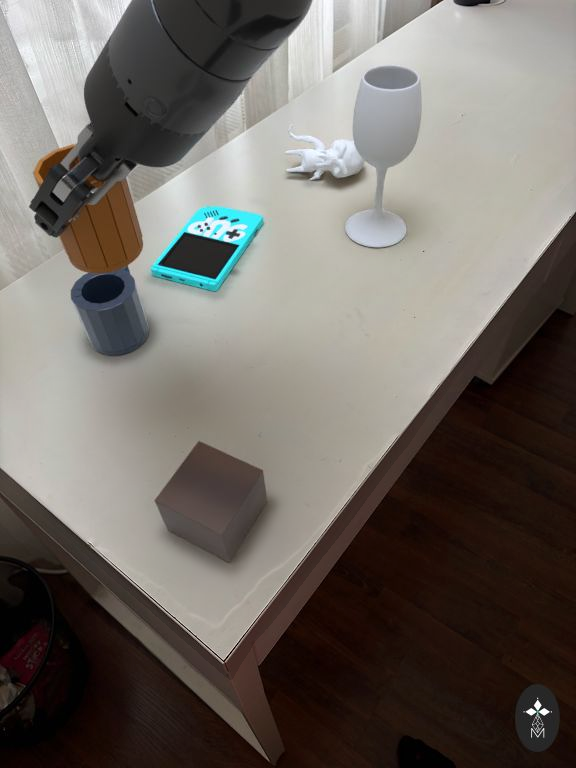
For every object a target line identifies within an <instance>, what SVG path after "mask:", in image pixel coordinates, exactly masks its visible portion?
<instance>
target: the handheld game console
mask: <svg viewBox="0 0 576 768" xmlns="http://www.w3.org/2000/svg"><path fill="white" fill-rule="evenodd" d="M263 224H264V216H263V215H262V214H258V213H253V212H248V211H244V210H239V209H235V208H230V207H226V206H219V205H218V206H217V205H214V206H213V205H211V206H203V207H201V208H199V209H197V210H196V211H195V213H194V214H193V215H192V216H191V217H190V218H189V220H188V221H187V222H186V223H185V225H184V226H183V227H182V229H181V230H180V231H179V232H178V234H177V235H176V236H175V237H174V238H173V239H172V241H171V242H170V243H169V244H168V246H167V247H166V248H165V250H164V251H163V252H162V253H161V254H160V255H159V256H158V258H157V259H156V260H155V262H153V264H152V265H151V266H150V272H151V274H152V276H153V277H156V278H160V279H164V280H168V281H172V282H176V283H179V284H184V285H188V286H191V287H195V288H199V289H203V290H207V291H211V292H217V291H218V290H219V289H220V287H221V286H222V285H223V284H224V282H225V280H226V278H227V277H228V276H229V274H230V273H231V272H232V270H233V268H234V267H235V265H236V264H237V262H238V261H239V260H240V258H241V257H242V255H243V254H244V252H245V250H247V248H248V247H249V245H250V243H252V241H253V239H254V237H255V236H256V235H257V234H258V231H259V230H260V229H261V227H262V226H263Z"/></svg>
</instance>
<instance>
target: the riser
mask: <svg viewBox="0 0 576 768" xmlns="http://www.w3.org/2000/svg"><path fill="white" fill-rule="evenodd" d="M154 503H155V505H156V507H157V510H158V512H159V514H160V516H161V519H162V521H163V523H164V525H165V528H166V530H167V531H168V532H170V533H172V534H174V535H176V536H177V537H179V538H182V539H183V540H186V541H187V542H189V543H190V544H193V545H195V546H197V547H198V548H201V549H202V550H204V551H206V552H208V553H210V554H212V555H214V556H215V557H217V558H219V559H221V560H223V561H225V562H227V563H229V564H230V563H231V562H232V560H233V559H234V557H235V555H236V554H237V552H238V551H239V549H240V547H241V546H242V544H243V542H244V541H245V539H246V537H247V535H248V534H249V532H250V531H251V529H252V528H253V526H254V524H255V523H256V521H257V519H258V518H259V516H260V514H261V513H262V511H263V510H264V508H265V506H266V505H267V503H268V496H267V488H266V479H265V473H264V470H263V469H261V468H260V467H257V466H255V465H252V464H250V463H248V462H247V461H244V460H242V459H239V458H237V457H235V456H233V455H230V454H229V453H226V452H225V451H223V450H220V449H217V448H216V447H213V446H211V445H209V444H207V443H204V442H202V441H200V440H198V441H197V443H196V444H195V445H194V446H193V448H192V449H191V451H190V452H189V453H188V454H187V456H186V457H185V459H183V462H182V463H181V464H180V466H179V467H178V468H177V470H175V472H174V474H173V475H172V476H171V477H170V479H169V480H168V481H167V482H166V484H165V486H164V487H163V488H162V489H161V491H160V492H159V494H158V495H157V496H156V498H155V499H154Z"/></svg>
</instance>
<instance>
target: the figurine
mask: <svg viewBox="0 0 576 768" xmlns="http://www.w3.org/2000/svg"><path fill="white" fill-rule="evenodd" d="M293 126H294V123H292V124H289V126H288V129H287V132H288V136H289V137H290V138H291V139H293V140H295V141H297V142H304V143H308V144H310V145H312V146H313V147H314V148H297V149H291V150H286V151H284V154H285V155H289V156H290V155H293V156H299V157H301V158H300V162H301V165H299V166H296V167H291V168H286V170H285V172H286V173H312V172H314V171H315V172H314V174H313V176H312V177H310V178H309V181H315V180H319V179H321V177H322V174H324V173H325V171H330V172H331V174H332V176H334V178H337V179H339V178H346V177H350V176H353V175H355V176H356V175H357V174H358V173H359V172H360V171H361V170H362V168H363V167H364V164H365V163H366V161H365V160H364V159H363V158H362V157H361V156H360V155H359V153H358V151H357V150H356V147H355V145H354V140H353V139H352V140H350V139H342V138H341V139H336V140H334V141H333V142H332V143H331V144H330V147H329V149H326V147H325V144H324V142H322V141H321V140H320V139H318V138H316V137H314V136H313V135H307V134H306V135H295V134H294V133H293V130H292V128H293Z"/></svg>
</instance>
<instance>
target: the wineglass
mask: <svg viewBox="0 0 576 768" xmlns="http://www.w3.org/2000/svg"><path fill="white" fill-rule="evenodd" d="M421 85H422V83H421V77H420V75H419V73H418V72H417V71H415V70H414V69H412V68H410V67H408V66H404V65H398V64H383V65H376V66H373V67H371V68H368V69H367V70H365V72H363V74H362V77H361V79H360V82H359V86H358V90H357V93H356V98H355V102H354V108H353V116H352V140H354V145H355V147H356V150H357V151H358V153H359V155H360V156H361V157H362V158H363V159H364V160H365V163H367V164H368V165H370V166H372V167H374V168H375V170H376V187H375V196H374V202H373V203H374V204H373V208H372V209H371V208H370V209H365V210H361V211H359V212H356V213H354V214H353V215H351V216H350V217H349V218H348V219H347V221H346V223H345V225H344V230H345V233H346V234H347V236H348V237H349V239H350V240H352V241H353V242H355V243H356V244H358V245H360V246H363V247H369V248H385V247H390V246H393V245H396V244H398V243H400V241H402V240H403V239H404V237H405V236H406V235H407V231H408V227H407V224H406V222H405V220H404V219H403V218H402V217H401V216H399V215H398V214H395V212H391V211H389V210H385V209H383V196H384V187H385V180H386V175H387V171H388V170H389V169H390V168H392V167H395V166H397V165H400V163H402V162H403V161H405V160H406V159H407V158H408V156H409V155H410V154H411V153H412V152H413V150H414V148H415V146H416V144H417V141H418V138H419V134H420V130H421V129H420V128H421V123H422V109H423V108H422V107H423V103H422V102H423V101H422V99H423V98H422V86H421Z"/></svg>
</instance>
